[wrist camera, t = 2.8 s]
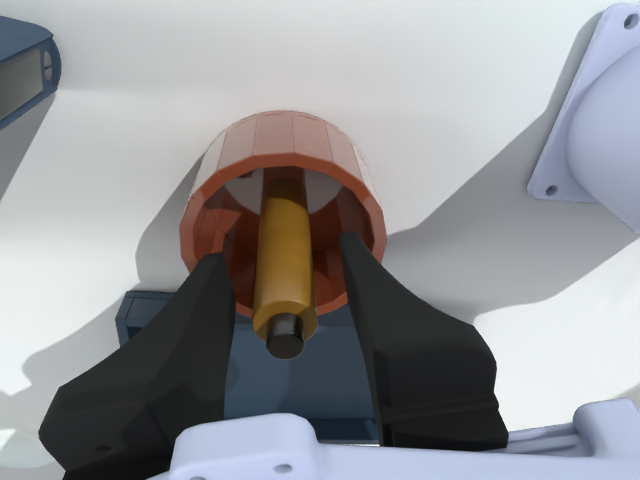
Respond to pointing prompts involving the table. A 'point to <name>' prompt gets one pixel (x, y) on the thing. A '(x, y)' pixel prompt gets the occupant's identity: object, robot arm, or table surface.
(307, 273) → the marker
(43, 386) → the table surface
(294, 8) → the table surface
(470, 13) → the table surface
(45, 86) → the vaping device
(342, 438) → the tray
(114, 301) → the table surface
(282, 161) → the pen cup
